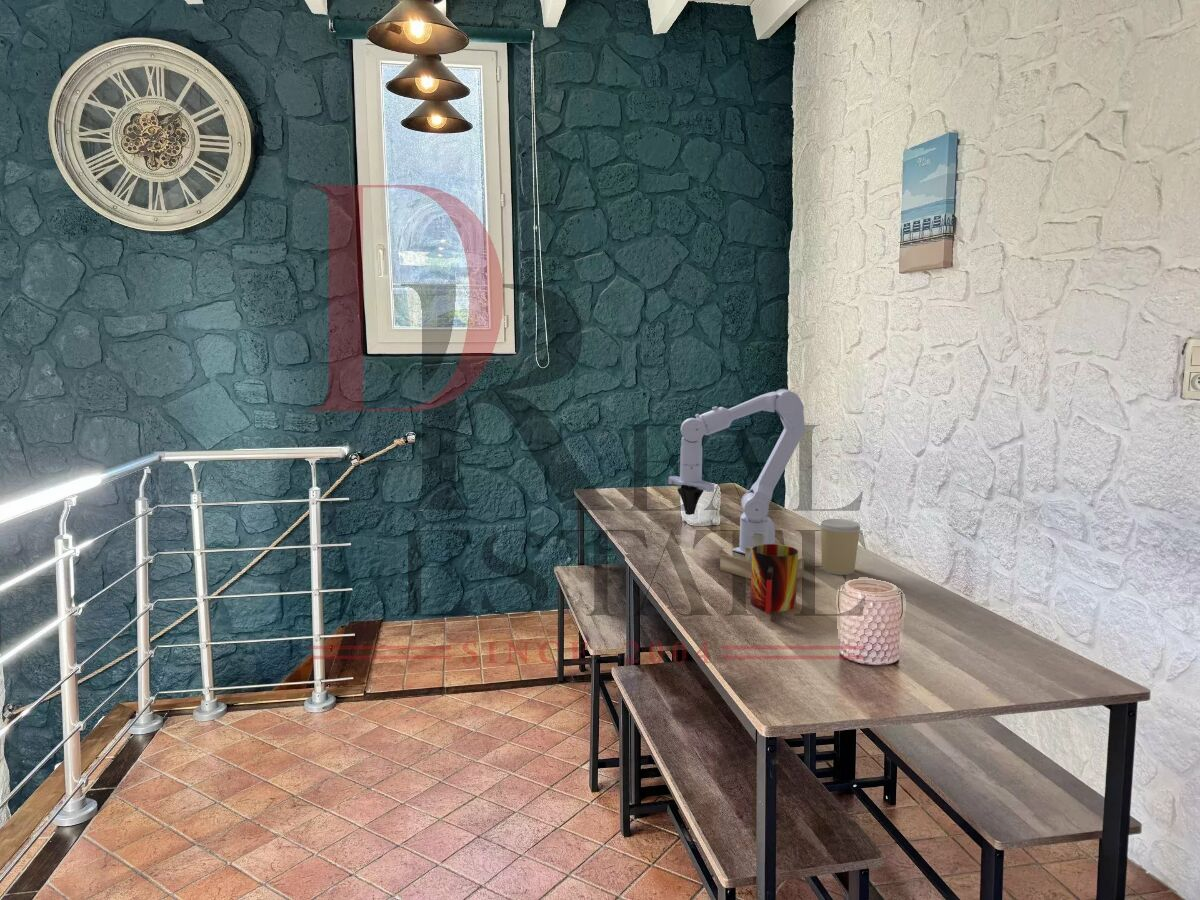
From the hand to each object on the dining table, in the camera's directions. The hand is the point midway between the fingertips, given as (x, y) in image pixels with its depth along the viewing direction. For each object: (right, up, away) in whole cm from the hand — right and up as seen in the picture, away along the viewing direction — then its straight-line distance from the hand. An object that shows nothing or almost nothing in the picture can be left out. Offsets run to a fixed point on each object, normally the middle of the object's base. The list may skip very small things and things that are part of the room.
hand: (689, 514), depth 214 cm
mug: (+14, -17, -42) cm, 47 cm away
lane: (+15, -13, -18) cm, 27 cm away
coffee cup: (+35, -13, -15) cm, 40 cm away
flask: (+14, -13, -19) cm, 27 cm away
